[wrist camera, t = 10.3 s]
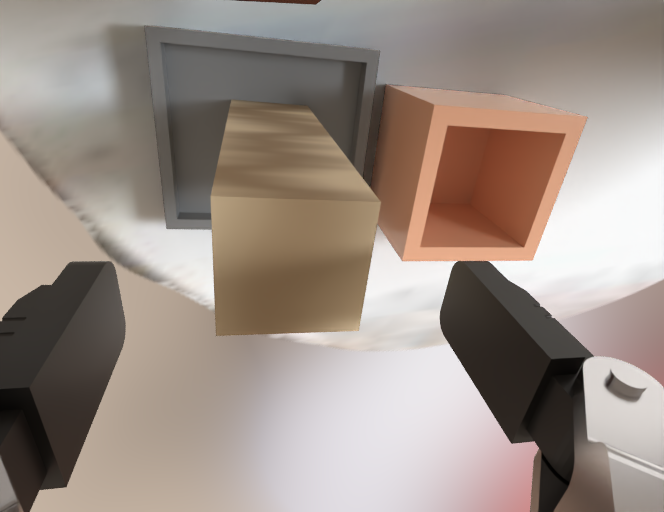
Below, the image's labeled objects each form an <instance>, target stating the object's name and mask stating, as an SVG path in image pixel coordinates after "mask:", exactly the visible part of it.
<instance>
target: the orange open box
mask: <svg viewBox="0 0 664 512" xmlns="http://www.w3.org/2000/svg"><path fill="white" fill-rule="evenodd" d="M587 118H588V117H586V116H582V115H579V114H575V113H571V112H567V111H564V110H560V109H556V108H552V107H549V106H545V105H541V104H537V103H533V102H530V101H526V100H522V99H518V98H515V97H511V96H507V95H500V94H489V93H478V92H467V91H455V90H444V89H433V88H421V87H410V86H399V85H388V84H386V86H385V93H384V100H383V106H382V113H381V120H380V126H379V133H378V140H377V147H376V153H375V160H374V167H373V173H372V180H371V187H370V188H371V190H372V191H373V192H374V194H375V195H376V196H377V198H378V199H379V200H380V201H381V205H380V211H379V216H378V222H377V224H378V225H379V227H380V228H381V230H382V231H383V233H384V234H385V236H386V237H387V239H388V241H389V242H390V244H391V245H392V247H393V248H394V250H395V251H396V253H397V254H398V256H399V257H400V259H401V260H402V261H520V260H533V258H534V255H535V253H536V250H537V248H538V245H539V242H540V240H541V237H542V235H543V232H544V229H545V227H546V224H547V222H548V219H549V216H550V214H551V211H552V209H553V206H554V203H555V201H556V198H557V196H558V193H559V190H560V188H561V185H562V183H563V180H564V177H565V175H566V172H567V170H568V167H569V164H570V162H571V159H572V157H573V154H574V151H575V149H576V146H577V144H578V141H579V139H580V136H581V133H582V131H583V128H584V126H585V123H586V120H587Z"/></svg>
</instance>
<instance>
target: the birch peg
mask: <svg viewBox="0 0 664 512" xmlns="http://www.w3.org/2000/svg"><path fill="white" fill-rule="evenodd" d="M380 205H381V201H380V200H379V199H378V198H377V196H376V195H375V194H374V192H373V191H372V190H371V188H370V187H369V186H368V184H367V183H366V182H365V180H364V179H363V178H362V177H361V175H360V174H359V173H358V171H357V170H356V169H355V167H354V166H353V165H352V163H351V162H350V161H349V160H348V158H347V157H346V156H345V154H344V153H343V152H342V150H341V149H340V148H339V146H338V145H337V144H336V142H335V141H334V140H333V139H332V137H331V136H330V135H329V133H328V132H327V131H326V129H325V128H324V127H323V125H322V124H321V123H320V122H319V120H318V119H317V118H316V116H315V115H314V114H313V112H312V111H311V110H310V108H309V107H308V106H304V105H292V104H280V103H268V102H256V101H244V100H232V99H231V104H230V108H229V113H228V118H227V122H226V127H225V131H224V136H223V141H222V145H221V150H220V155H219V159H218V164H217V169H216V173H215V178H214V182H213V187H212V192H211V221H212V246H213V271H214V296H215V320H216V336H224V335H253V334H281V333H309V332H338V331H359V326H360V320H361V314H362V308H363V303H364V297H365V291H366V285H367V280H368V274H369V268H370V262H371V257H372V251H373V245H374V239H375V234H376V228H377V222H378V216H379V211H380Z"/></svg>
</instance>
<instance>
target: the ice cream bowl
mask: <svg viewBox="0 0 664 512" xmlns="http://www.w3.org/2000/svg"><path fill="white" fill-rule="evenodd" d="M237 1H256V2H276V3H296V4H315V5H316V4H317V3H318V2H320V1H321V0H237Z"/></svg>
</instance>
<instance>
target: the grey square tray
mask: <svg viewBox="0 0 664 512" xmlns="http://www.w3.org/2000/svg"><path fill="white" fill-rule="evenodd" d="M145 35H146V44H147V54H148V63H149V72H150V81H151V90H152V100H153V109H154V118H155V127H156V136H157V146H158V155H159V164H160V173H161V182H162V192H163V201H164V210H165V219H166V228H167V229H212V221H211V192H212V187H213V182H214V178H215V173H216V169H217V164H218V159H219V155H220V150H221V145H222V141H223V136H224V131H225V127H226V122H227V118H228V113H229V108H230V104H231V99H232V100H244V101H256V102H268V103H280V104H292V105H304V106H308V107H309V108H310V110H311V111H312V112H313V114H314V115H315V116H316V118H317V119H318V120H319V122H320V123H321V124H322V125H323V127H324V128H325V129H326V131H327V132H328V133H329V135H330V136H331V137H332V139H333V140H334V141H335V142H336V144H337V145H338V146H339V148H340V149H341V150H342V152H343V153H344V154H345V156H346V157H347V158H348V160H349V161H350V162H351V163H352V165H353V166H354V167H355V169H356V170H357V171H358V173H359V174H360V175H361V177H362V178H363V172H364V164H365V157H366V150H367V143H368V135H369V128H370V121H371V114H372V106H373V99H374V92H375V85H376V77H377V70H378V63H379V56H380V51H379V50H374V49H367V48H358V47H348V46H339V45H330V44H320V43H311V42H301V41H292V40H283V39H273V38H264V37H255V36H245V35H236V34H227V33H217V32H208V31H198V30H189V29H180V28H170V27H161V26H145Z"/></svg>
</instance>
